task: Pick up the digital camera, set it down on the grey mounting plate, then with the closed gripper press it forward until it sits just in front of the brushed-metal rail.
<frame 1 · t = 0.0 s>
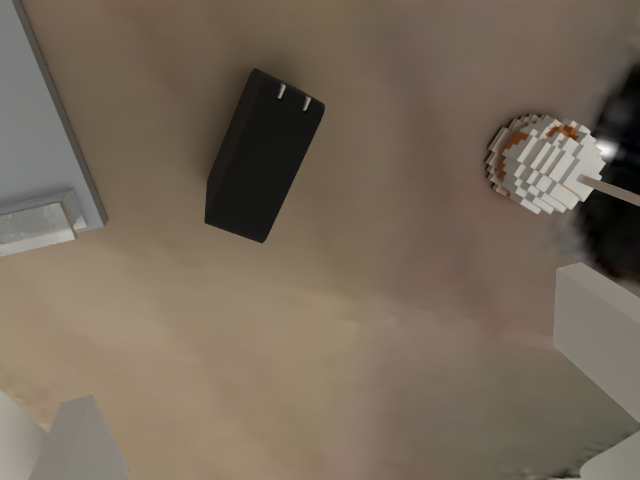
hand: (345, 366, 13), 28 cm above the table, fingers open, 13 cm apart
decorative ornament: (520, 155, 44), on the table
electronic device: (252, 137, 38), on the table
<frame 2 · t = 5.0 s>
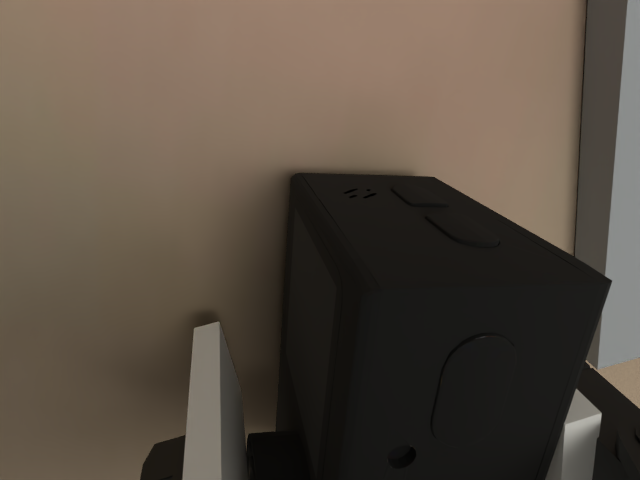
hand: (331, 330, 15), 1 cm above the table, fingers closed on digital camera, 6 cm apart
digital camera: (326, 324, 15), point 1 cm above the table, touching gripper
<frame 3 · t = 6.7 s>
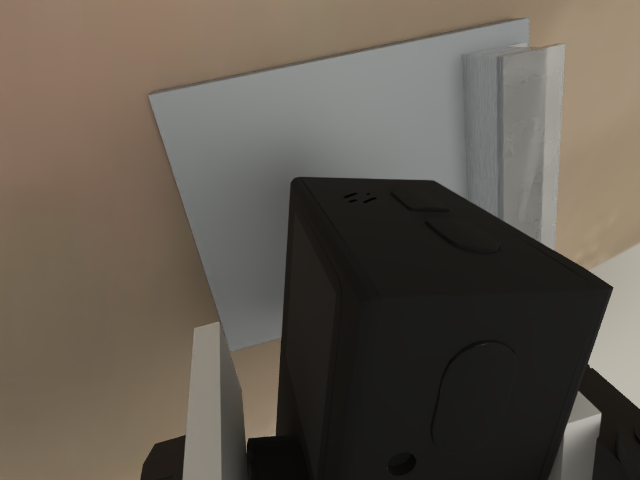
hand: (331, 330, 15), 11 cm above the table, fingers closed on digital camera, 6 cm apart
digital camera: (326, 327, 15), point 11 cm above the table, touching gripper
mounting plate: (359, 189, 25), on the table
rail: (483, 169, 25), resting on mounting plate
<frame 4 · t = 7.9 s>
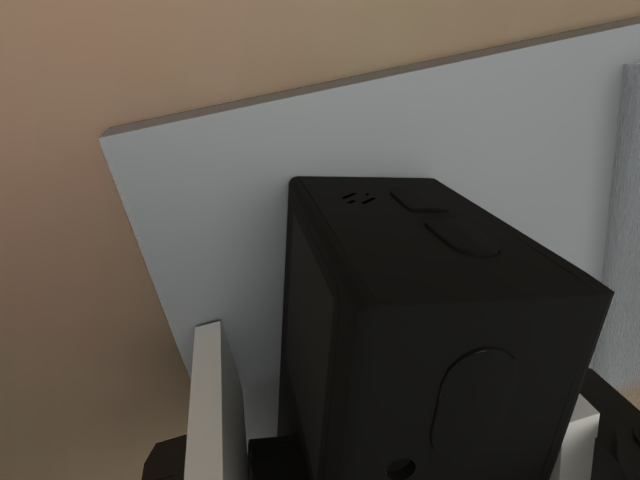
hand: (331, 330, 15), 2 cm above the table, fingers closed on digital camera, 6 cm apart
digital camera: (327, 326, 15), point 1 cm above the table, touching gripper, mounting plate
mounting plate: (436, 267, 17), on the table
rail: (630, 240, 16), resting on mounting plate
when the fingers open (2 cm above the table, at t = 8.0 s): digital camera stays where it is, resting on mounting plate.
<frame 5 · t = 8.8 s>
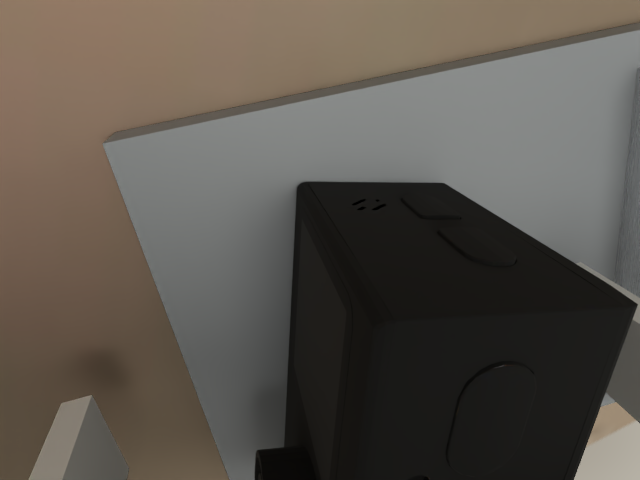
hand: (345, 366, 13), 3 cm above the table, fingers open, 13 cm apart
digital camera: (335, 333, 15), point 1 cm above the table, touching mounting plate
mounting plate: (444, 274, 16), on the table
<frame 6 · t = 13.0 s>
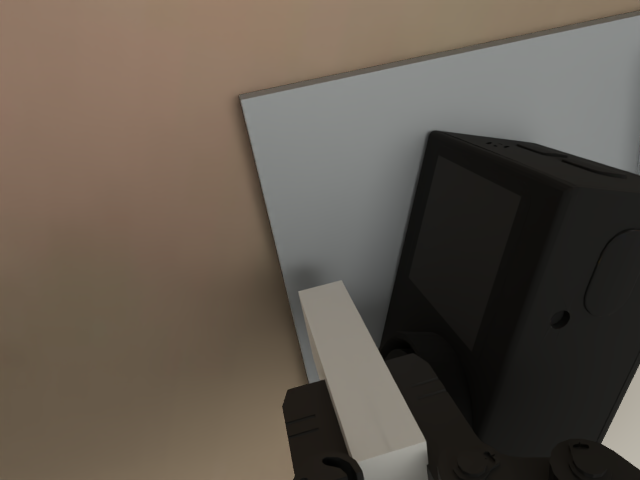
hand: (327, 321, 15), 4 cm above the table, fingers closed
digital camera: (431, 262, 18), point 1 cm above the table, touching gripper
mounting plate: (488, 219, 20), on the table
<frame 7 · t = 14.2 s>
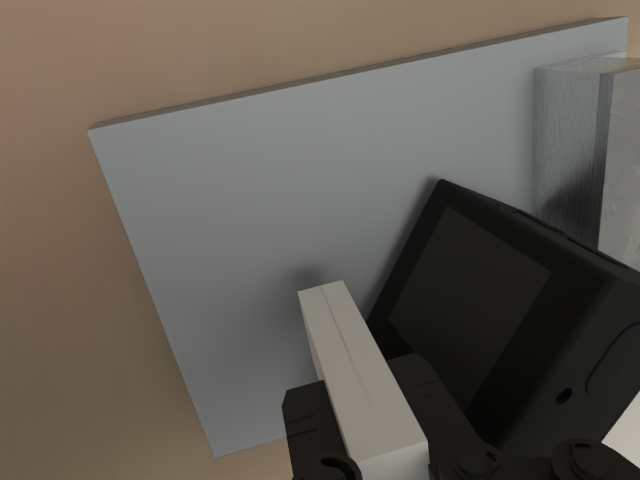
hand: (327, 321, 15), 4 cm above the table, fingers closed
digital camera: (402, 304, 18), point 2 cm above the table, touching gripper
mounting plate: (385, 245, 19), on the table
rail: (553, 221, 18), resting on mounting plate
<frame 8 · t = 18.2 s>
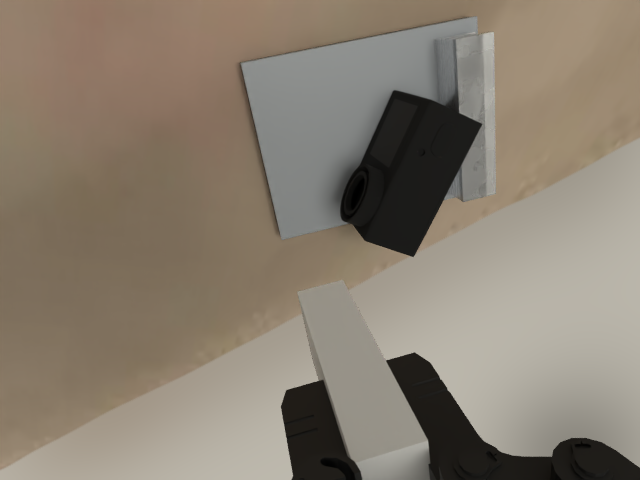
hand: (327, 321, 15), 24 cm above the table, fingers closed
digital camera: (381, 156, 38), point 1 cm above the table, touching mounting plate
mounting plate: (368, 130, 38), on the table
rail: (450, 116, 37), resting on mounting plate
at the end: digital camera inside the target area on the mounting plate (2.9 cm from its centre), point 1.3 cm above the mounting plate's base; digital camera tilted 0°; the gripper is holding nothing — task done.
